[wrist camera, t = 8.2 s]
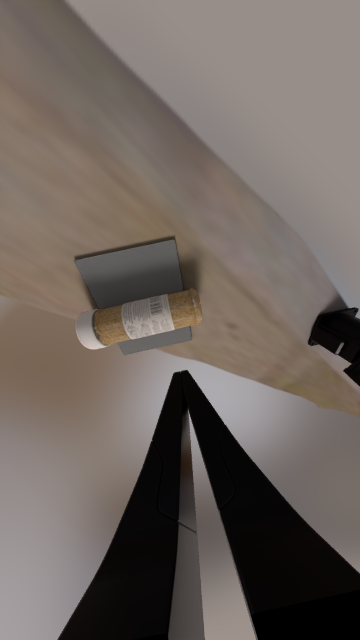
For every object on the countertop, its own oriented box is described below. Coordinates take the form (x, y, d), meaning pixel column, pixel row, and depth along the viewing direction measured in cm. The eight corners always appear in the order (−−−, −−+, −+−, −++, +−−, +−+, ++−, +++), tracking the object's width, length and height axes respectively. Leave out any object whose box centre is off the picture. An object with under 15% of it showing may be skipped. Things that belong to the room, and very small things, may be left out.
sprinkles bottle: (192, 296, 19) (98, 317, 19) (194, 279, 15) (72, 307, 15) (200, 327, 18) (101, 350, 18) (206, 319, 14) (74, 349, 14)
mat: (174, 239, 15) (174, 239, 15) (191, 338, 22) (192, 340, 22) (75, 260, 15) (73, 260, 15) (124, 353, 22) (123, 355, 22)
